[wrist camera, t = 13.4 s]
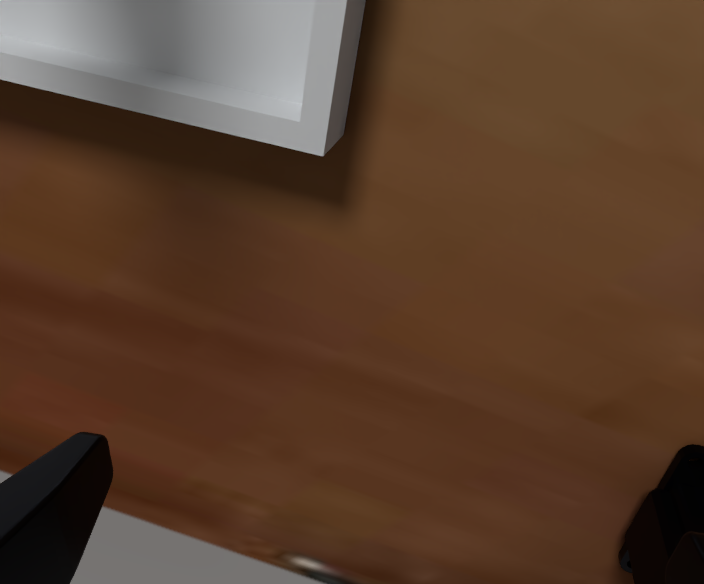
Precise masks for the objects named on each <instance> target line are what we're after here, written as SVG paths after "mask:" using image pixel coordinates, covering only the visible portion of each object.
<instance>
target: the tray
mask: <svg viewBox="0 0 704 584" xmlns="http://www.w3.org/2000/svg"><path fill="white" fill-rule="evenodd" d="M365 2H366V0H0V79H1V80H5V81H9V82H13V83H17V84H21V85H26V86H30V87H34V88H38V89H42V90H47V91H51V92H55V93H59V94H63V95H68V96H72V97H76V98H80V99H84V100H88V101H93V102H97V103H101V104H105V105H109V106H114V107H118V108H122V109H126V110H130V111H134V112H139V113H143V114H147V115H151V116H155V117H160V118H164V119H168V120H172V121H176V122H180V123H185V124H189V125H193V126H197V127H201V128H206V129H210V130H214V131H218V132H222V133H227V134H231V135H235V136H239V137H243V138H247V139H252V140H256V141H260V142H264V143H268V144H273V145H277V146H281V147H285V148H289V149H293V150H298V151H302V152H306V153H310V154H314V155H319V156H324V155H325V154H326V153H327V152H328V151H329V150H330V149H331V148H332V147H333V146H334V145H335V143H336V142H337V141H338V140H339V139H340V138H341V137H342V136H343V135H344V129H345V123H346V117H347V111H348V105H349V99H350V93H351V87H352V81H353V75H354V69H355V62H356V56H357V50H358V44H359V38H360V32H361V26H362V20H363V14H364V8H365Z"/></svg>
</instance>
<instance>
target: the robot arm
mask: <svg viewBox="0 0 704 584" xmlns="http://www.w3.org/2000/svg"><path fill="white" fill-rule="evenodd" d="M692 458H699V459H698V460H696V461H689V460H690V459H692ZM112 478H113V466H112V461H111V456H110V450H109V445H108V441H107V439H106V437H105V436H104V435H100V434H94V433H88V432H80V433H77V434H75V435H73V436H72V437H70V438H69V439H67V440H66V441H64V442H63V443H61V444H60V445H58V446H57V447H55V448H54V449H52V450H51V451H49V452H48V453H46V454H45V455H43V456H41V457H40V458H38V459H37V460H35V461H34V462H32V463H31V464H29V465H28V466H26V467H25V468H23V469H22V470H20V471H19V472H17V473H16V474H14V475H13V476H11V477H10V478H8V479H7V480H5V481H4V482H2V483H0V584H70V582H71V580H72V578H73V576H74V574H75V572H76V569H77V567H78V565H79V562H80V560H81V557H82V555H83V553H84V550H85V548H86V545H87V543H88V540H89V538H90V535H91V533H92V530H93V528H94V525H95V523H96V520H97V518H98V515H99V513H100V510H101V508H102V505H103V503H104V500H105V498H106V495H107V493H108V490H109V488H110V485H111V482H112ZM625 538H626V542H625V544H624V545H623V547H622V549H621V550H620V552H619V560H620V565H621V568H623V569H624V570H625V571H627V572H629V573H633V578H634V583H635V584H704V446H700V445H694V444H693V445H687V446H685V447H683V448H681V449H680V451H679V452H678V453H677V455H676V457H675V458H674V460H673V462H672V464H671V465H670V467H669V469H668V470H667V472H666V474H665V475H664V477H663V479H662V481H661V482H660V484H659V486H658V487H657V488H655V489H654V490H652V491H651V492H650V493H649V494H648V496H647V498H646V499H645V501H644V503H643V505H642V506H641V508H640V510H639V511H638V513H637V515H636V517H635V518H634V520H633V522H632V524H631V525H630V527H629V529H628V530H627V532H626V534H625Z"/></svg>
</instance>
